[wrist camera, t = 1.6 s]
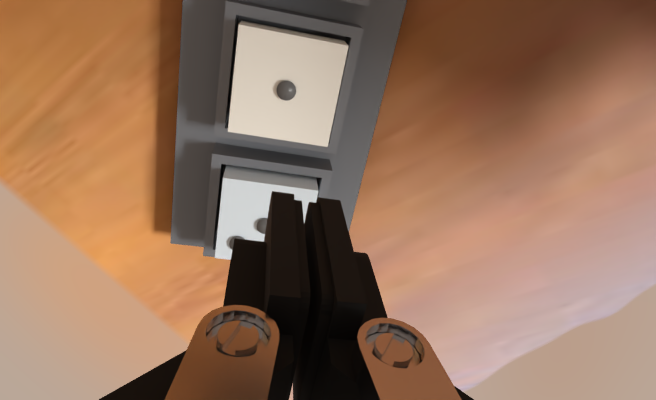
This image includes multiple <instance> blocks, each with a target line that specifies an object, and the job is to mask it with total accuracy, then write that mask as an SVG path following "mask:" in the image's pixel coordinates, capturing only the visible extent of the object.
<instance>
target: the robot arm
mask: <svg viewBox="0 0 656 400" xmlns="http://www.w3.org/2000/svg"><path fill="white" fill-rule="evenodd" d="M292 383H293V400H474V399H472V398H471V397H469V396H468V395H466V394H465V393H463V392H462V391H461V390H459V389H458V388H456V387H455V386H454V385H453V384H452V382H451V380H450V378H449V377H448V375H447V373H446V372H445V370H444V368H443V366H442V365H441V363H440V361H439V359H438V358H437V356H436V354H435V352H434V351H433V349H432V347H431V345H430V344H429V342H428V341H427V340H426V338H425V337H424V336H423V335H422V334H421V333H420V332H419V331H418V330H416V329H415V328H414V327H412V326H410V325H408V324H406V323H404V322H402V321H399V320H395V319H391V318H387V315H386V311H385V308H384V305H383V302H382V298H381V295H380V292H379V289H378V285H377V282H376V279H375V275H374V272H373V269H372V266H371V262H370V259H369V257H368V255H367V254H366V253H359V252H354V251H353V247H352V243H351V239H350V236H349V232H348V228H347V224H346V220H345V216H344V213H343V209H342V205H341V201H340V200H335V199H328V198H320V197H318V199H317V201H316V203H315V202H309V204H308V208H307V213H306V218H305V223H304V219H303V208H302V201H300V200H294V194H290V193H283V192H275V191H272V193H271V199H270V205H269V211H268V218H267V224H266V231H265V237H264V242H263V241H254V240H245V239H236V238H235V239H234V244H233V250H232V256H231V262H230V268H229V274H228V280H227V287H226V293H225V299H224V305H223V307H220V308H218V309H215V310H212V311H211V312H210V313H208V314H207V315H205V316H204V317H203V319H202V320H201V321H200V323H199V324H198V326H197V328H196V331H195V333H194V335H193V337H192V340H191V342H190V344H189V346H188V349H187V350H186V351H184V352H183V353H181V354H179V355H177V356H175V357H174V358H172V359H170V360H168V361H167V362H165V363H163V364H161V365H159V366H158V367H156V368H154V369H152V370H151V371H149V372H147V373H145V374H143V375H142V376H140V377H138V378H136V379H135V380H133V381H131V382H129V383H127V384H126V385H124V386H122V387H120V388H119V389H117V390H115V391H113V392H112V393H110V394H108V395H106V396H104V397H103V398H101V399H99V400H289V396H290V392H291V387H292Z"/></svg>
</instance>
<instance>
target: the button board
mask: <svg viewBox="0 0 656 400" xmlns="http://www.w3.org/2000/svg"><path fill="white" fill-rule="evenodd" d="M406 2H407V0H183V6H182V26H181V46H180V65H179V85H178V105H177V125H176V145H175V165H174V185H173V205H172V225H171V243H172V244H181V245H191V246H200V247H204V252H203V256H210V257H215V250H216V241H217V231H218V221H219V211H220V202H221V192H222V182H223V176H224V172H225V168H226V165H230V166H237V167H244V168H251V169H258V170H265V171H272V172H279V173H286V174H293V175H301V176H308V177H315V178H316V179H317V185H318V196H317V199H318V197H320V198H328V199H335V200H340V201H341V205H342V209H343V213H344V216H345V220H346V224H347V228H348V232H349V229H350V225H351V221H352V217H353V213H354V209H355V205H356V201H357V197H358V193H359V189H360V185H361V181H362V177H363V173H364V169H365V165H366V161H367V157H368V153H369V149H370V145H371V141H372V137H373V133H374V129H375V125H376V121H377V117H378V113H379V109H380V105H381V101H382V97H383V94H384V90H385V86H386V82H387V78H388V74H389V70H390V66H391V62H392V58H393V54H394V50H395V46H396V42H397V38H398V34H399V30H400V26H401V22H402V18H403V14H404V10H405V6H406ZM241 20H242V21H247V22H252V23H258V24H263V25H268V26H273V27H278V28H283V29H288V30H293V31H298V32H303V33H308V34H314V35H319V36H324V37H329V38H334V39H339V40H344V41H345V42H346V43H347V45H348V51H347V56H346V61H345V66H344V71H343V75H342V80H341V85H340V90H339V95H338V99H337V104H336V109H335V114H334V119H333V123H332V128H331V133H330V138H329V143H328V147H324V146H318V145H311V144H305V143H298V142H292V141H285V140H279V139H272V138H266V137H259V136H253V135H246V134H239V133H233V132H228V124H229V114H230V104H231V94H232V85H233V75H234V65H235V55H236V46H237V36H238V26H239V23H240V22H241ZM316 201H317V200H316Z"/></svg>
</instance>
